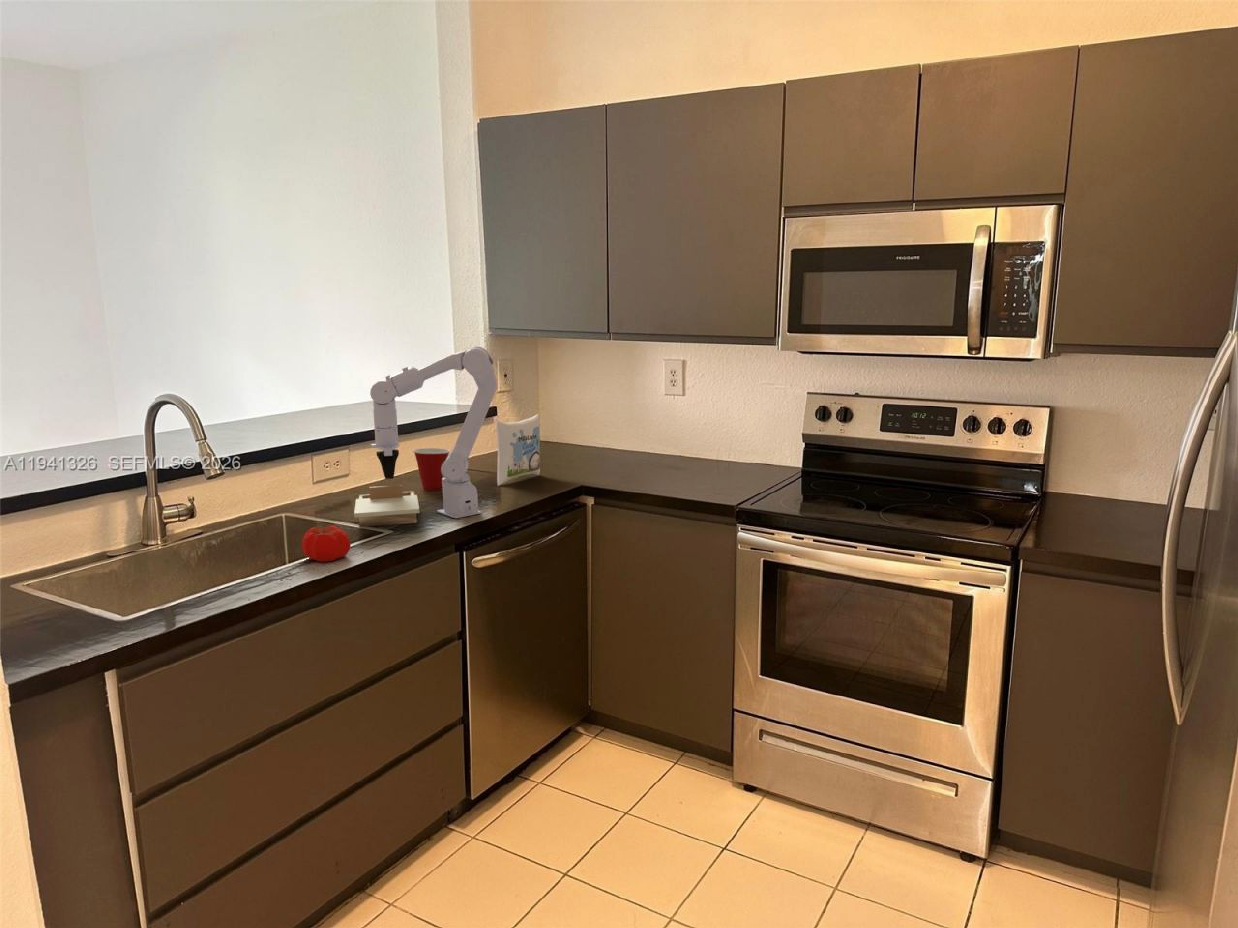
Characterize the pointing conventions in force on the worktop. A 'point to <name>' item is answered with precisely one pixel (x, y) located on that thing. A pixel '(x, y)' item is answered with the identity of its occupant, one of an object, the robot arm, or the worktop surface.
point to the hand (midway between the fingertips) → (389, 478)
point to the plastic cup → (431, 466)
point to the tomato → (325, 543)
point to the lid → (386, 502)
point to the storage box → (387, 516)
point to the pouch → (518, 448)
